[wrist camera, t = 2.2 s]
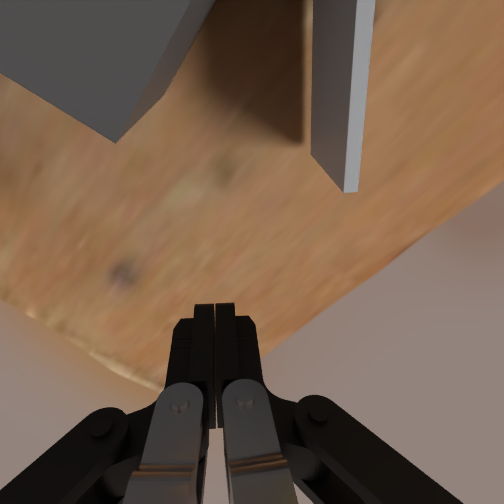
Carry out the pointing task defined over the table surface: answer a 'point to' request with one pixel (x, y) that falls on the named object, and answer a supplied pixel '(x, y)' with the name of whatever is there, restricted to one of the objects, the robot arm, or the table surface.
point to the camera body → (98, 54)
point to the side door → (340, 86)
